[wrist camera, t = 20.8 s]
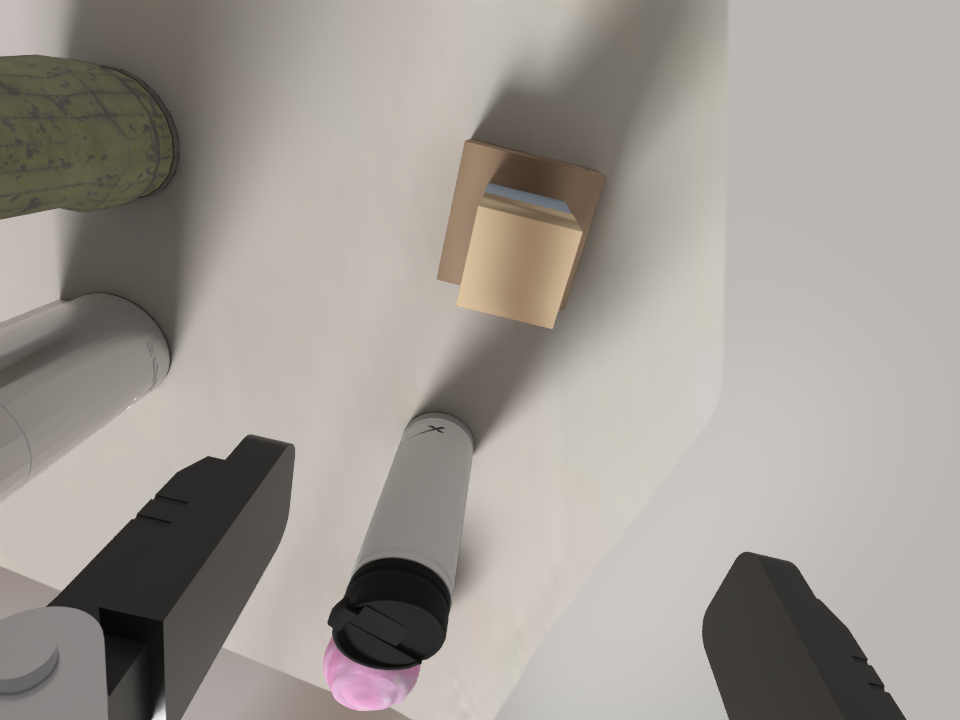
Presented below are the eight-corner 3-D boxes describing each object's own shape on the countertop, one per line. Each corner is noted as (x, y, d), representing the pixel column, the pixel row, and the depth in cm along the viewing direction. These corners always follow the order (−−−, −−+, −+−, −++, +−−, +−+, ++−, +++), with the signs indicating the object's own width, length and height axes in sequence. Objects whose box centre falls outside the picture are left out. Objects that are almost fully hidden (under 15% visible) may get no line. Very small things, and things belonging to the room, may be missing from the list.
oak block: (465, 278, 32) (456, 305, 27) (484, 192, 29) (478, 205, 25) (548, 298, 32) (552, 329, 27) (573, 214, 30) (582, 231, 25)
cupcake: (331, 609, 57) (295, 703, 47) (371, 559, 53) (340, 650, 44) (403, 646, 58) (382, 744, 49) (446, 600, 55) (432, 696, 46)
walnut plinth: (444, 264, 40) (436, 279, 37) (470, 138, 37) (465, 141, 33) (559, 293, 41) (563, 310, 37) (597, 171, 37) (605, 177, 33)
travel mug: (428, 395, 45) (366, 582, 27) (488, 439, 47) (468, 646, 28) (385, 442, 47) (301, 644, 29) (444, 483, 49) (399, 701, 31)
